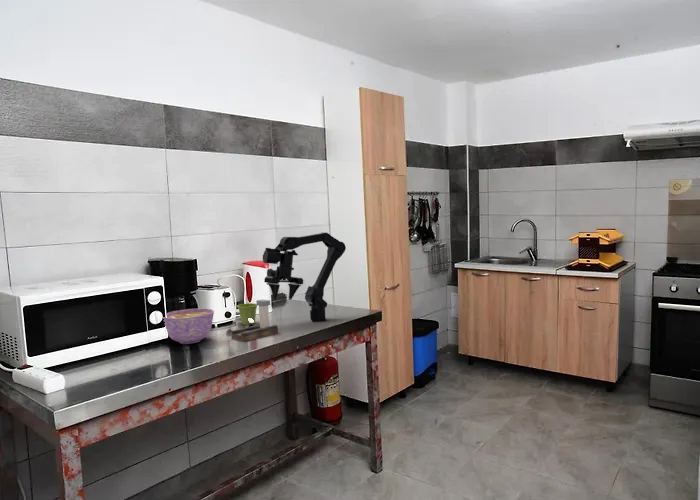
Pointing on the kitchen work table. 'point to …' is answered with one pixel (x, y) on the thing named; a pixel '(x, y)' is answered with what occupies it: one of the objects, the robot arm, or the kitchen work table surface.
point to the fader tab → (263, 312)
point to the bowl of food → (189, 325)
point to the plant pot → (247, 312)
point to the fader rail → (253, 332)
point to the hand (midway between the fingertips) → (282, 299)
